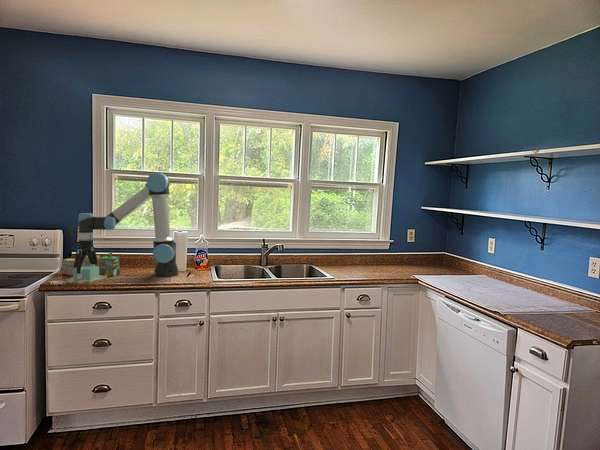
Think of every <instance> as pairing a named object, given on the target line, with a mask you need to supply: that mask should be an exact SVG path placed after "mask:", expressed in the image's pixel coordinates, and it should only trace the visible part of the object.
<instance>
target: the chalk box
mask: <svg viewBox="0 0 600 450" xmlns="http://www.w3.org/2000/svg"><path fill="white" fill-rule="evenodd" d="M113 253H114V252H113V251H110V252H108V255H106V256H105V255H104V256H102V257H100V258H99V275H101V276H107V278H114V277H116V276H119V275H120V258H121V257H120V256H113Z"/></svg>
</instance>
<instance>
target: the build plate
mask: <svg viewBox="0 0 600 450" xmlns="http://www.w3.org/2000/svg"><path fill="white" fill-rule="evenodd" d="M106 279H108V277H107V276H101V275H99V277H96V278H94V279H91V280H81V279H73V276H72V277H69V278H66V279H64V280H63V281H64V282H68V283H69V284H83V285H85V284H87V285H91V284H95V283H97V282H100V281H103V280H106ZM68 283H67V284H68Z"/></svg>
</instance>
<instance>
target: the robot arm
mask: <svg viewBox="0 0 600 450" xmlns="http://www.w3.org/2000/svg"><path fill="white" fill-rule="evenodd" d="M170 184H171V182H170V178H169V177H168V176H167V175H166V174H165V173H163V172H160V171H159V172H156V171H154V172H153V173H151V174H150V175H148V177H147V179H146V184H145V185H144V187H143V188H142V189H140V190H139V191H138V192H136V193H135V194H134V195H133V196H131V197H130V198H128V199H127V200H126V201H124V203H122V204H121V205H120V206H118V207H117V208H116V209H114V210H113V211H112V212H110V213H109V214H107V215H105V216H94V215H93V213H92V212H86V213H85V212H82V213H79V214H78V220H77V221H78V226H77V227H78V247H79V249H76V251H75V258H74V259H75V262H74V267H75V268H77V279H82V268H81V266H82V264H83V261H84V258H85V257H86V256H88V258H89V261H90V263H91V264H90V266H95V264H97V262H98V261H97V256H96V255H97V252H96V247H94V240H93V239H94V230H95V231H96V230H101V231H102V230H104V231H105V230H106V231H112V230H115V229H116V226H117V225H118V224H119V223H120V222H121V221H124V219H125V218H127V217H129V216H130V215H131V214H133V213H134V211H136V210H137V209H139V208H140V207H142V205H144V204H145V203H146V202H148V201H149V200H150V199H151V202H152V211H153V212H152V213H153V225H154V237H155V238H154V239H153V241H152V246H153V251H152V256H153V258H154V260H155V261H156V265H155V268H154V270H153V275H154V276H155V277H161V278H163V277H166V278H169V277H176V276H178V275H179V274H180V272H179V267H178V263H177V241H176V239H173V238H172V236H171V231H170V229H171V228H170V215H169V207H168V206H169V204H168V197H169V196H170ZM79 265H80V266H79Z"/></svg>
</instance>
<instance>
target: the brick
mask: <svg viewBox="0 0 600 450" xmlns="http://www.w3.org/2000/svg"><path fill="white" fill-rule="evenodd" d="M81 268H82V279H81V280H91V279H94V278H96V277H99V266H81ZM72 277H73V279H77V268H74V269H73V275H72Z"/></svg>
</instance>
